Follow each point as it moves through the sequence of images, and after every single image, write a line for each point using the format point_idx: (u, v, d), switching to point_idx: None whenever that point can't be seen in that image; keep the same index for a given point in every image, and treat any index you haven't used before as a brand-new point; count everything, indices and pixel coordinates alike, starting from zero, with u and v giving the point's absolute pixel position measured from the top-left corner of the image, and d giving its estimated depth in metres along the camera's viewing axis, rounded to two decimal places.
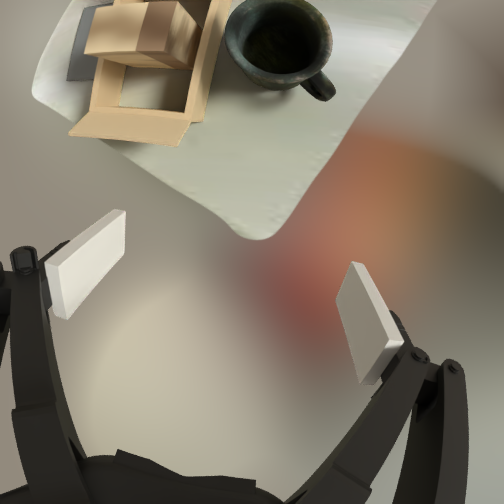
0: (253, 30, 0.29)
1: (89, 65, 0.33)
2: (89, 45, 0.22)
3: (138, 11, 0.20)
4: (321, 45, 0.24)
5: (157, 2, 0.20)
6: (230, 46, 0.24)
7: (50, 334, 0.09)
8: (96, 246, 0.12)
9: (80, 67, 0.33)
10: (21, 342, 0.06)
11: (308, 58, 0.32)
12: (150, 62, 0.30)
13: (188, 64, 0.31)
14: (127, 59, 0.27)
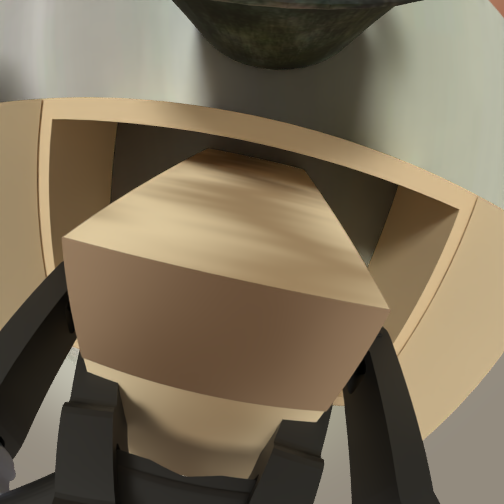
0: None
1: None
2: None
3: (128, 393, 0.06)
4: None
5: (79, 329, 0.05)
6: None
7: None
8: None
9: None
10: None
11: None
12: None
13: (311, 184, 0.13)
14: None
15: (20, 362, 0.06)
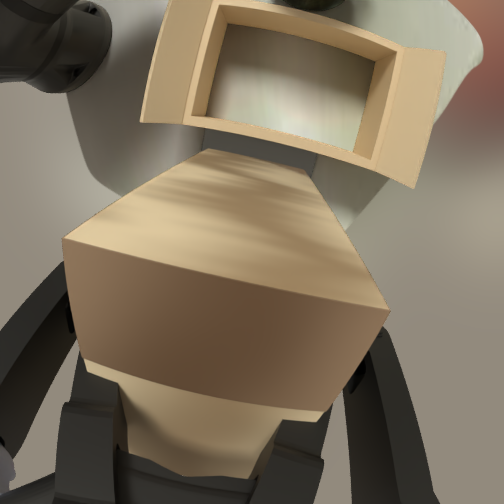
0: None
1: None
2: None
3: (128, 393, 0.06)
4: None
5: (79, 330, 0.05)
6: None
7: None
8: None
9: None
10: None
11: None
12: None
13: (311, 185, 0.13)
14: None
15: (20, 362, 0.06)
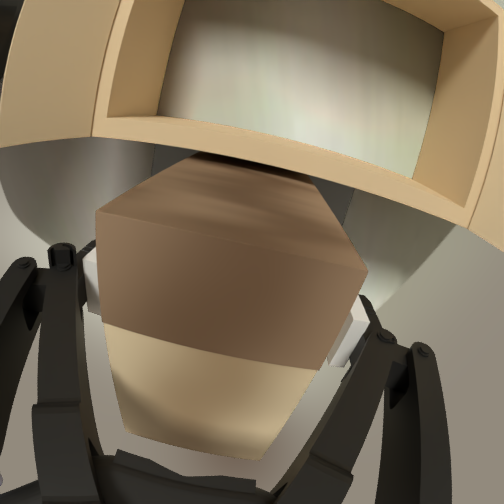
0: None
1: None
2: (240, 453, 0.10)
3: (142, 355, 0.08)
4: None
5: (103, 294, 0.07)
6: None
7: (82, 332, 0.09)
8: None
9: None
10: (51, 338, 0.07)
11: None
12: None
13: (307, 178, 0.14)
14: None
15: None
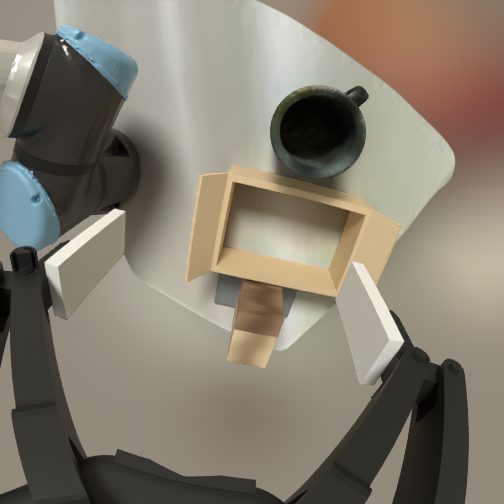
0: (284, 148, 0.39)
1: None
2: (259, 365, 0.42)
3: (241, 335, 0.39)
4: (326, 95, 0.29)
5: (236, 324, 0.38)
6: (329, 174, 0.32)
7: (50, 334, 0.09)
8: (96, 246, 0.12)
9: None
10: (21, 342, 0.06)
11: (311, 101, 0.37)
12: None
13: None
14: None
15: None
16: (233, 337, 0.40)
